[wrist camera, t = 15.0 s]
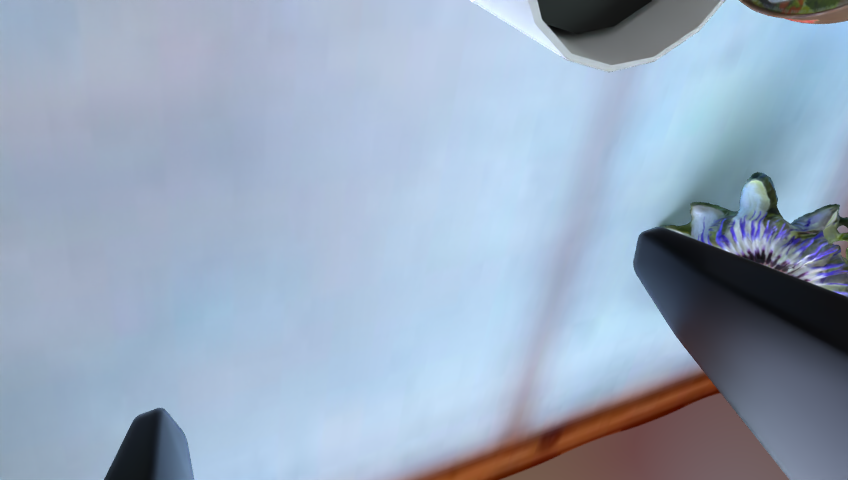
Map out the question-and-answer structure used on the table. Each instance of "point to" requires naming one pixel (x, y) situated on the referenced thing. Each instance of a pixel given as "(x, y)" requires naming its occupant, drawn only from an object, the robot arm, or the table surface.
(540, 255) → the table surface
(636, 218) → the table surface
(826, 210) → the passion flower
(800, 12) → the tin
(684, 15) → the white cup
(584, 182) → the table surface
